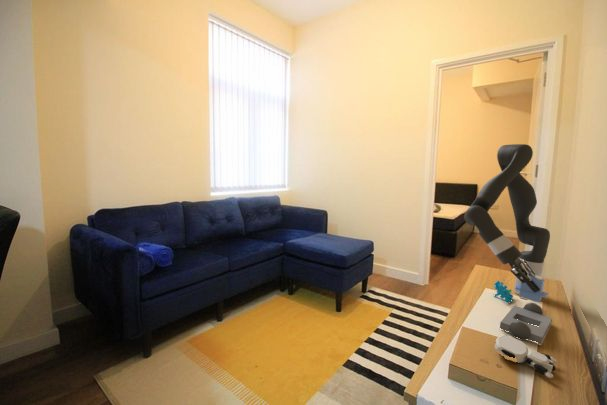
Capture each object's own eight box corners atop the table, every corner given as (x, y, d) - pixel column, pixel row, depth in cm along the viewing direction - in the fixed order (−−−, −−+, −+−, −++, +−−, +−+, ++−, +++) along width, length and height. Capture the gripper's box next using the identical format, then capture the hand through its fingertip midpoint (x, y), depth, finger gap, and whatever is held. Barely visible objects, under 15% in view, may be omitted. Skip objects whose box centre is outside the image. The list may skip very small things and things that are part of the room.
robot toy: (555, 367, 87) (498, 341, 97) (559, 354, 86) (501, 329, 96) (550, 388, 78) (488, 356, 89) (555, 374, 78) (492, 344, 88)
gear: (506, 302, 123) (493, 280, 129) (494, 307, 127) (481, 285, 133) (520, 301, 128) (506, 280, 134) (508, 305, 132) (495, 285, 138)
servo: (514, 295, 107) (517, 272, 106) (516, 292, 110) (520, 270, 109) (544, 304, 101) (548, 280, 99) (546, 301, 103) (550, 278, 102)
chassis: (498, 330, 104) (500, 315, 103) (514, 310, 119) (516, 297, 118) (539, 347, 95) (542, 331, 94) (551, 323, 110) (554, 309, 109)
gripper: (508, 247, 104) (545, 290, 96) (517, 241, 113) (552, 280, 106) (489, 257, 108) (524, 299, 101) (500, 251, 118) (532, 288, 110)
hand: (538, 289), depth 103 cm, fingers closed on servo, 4 cm apart
